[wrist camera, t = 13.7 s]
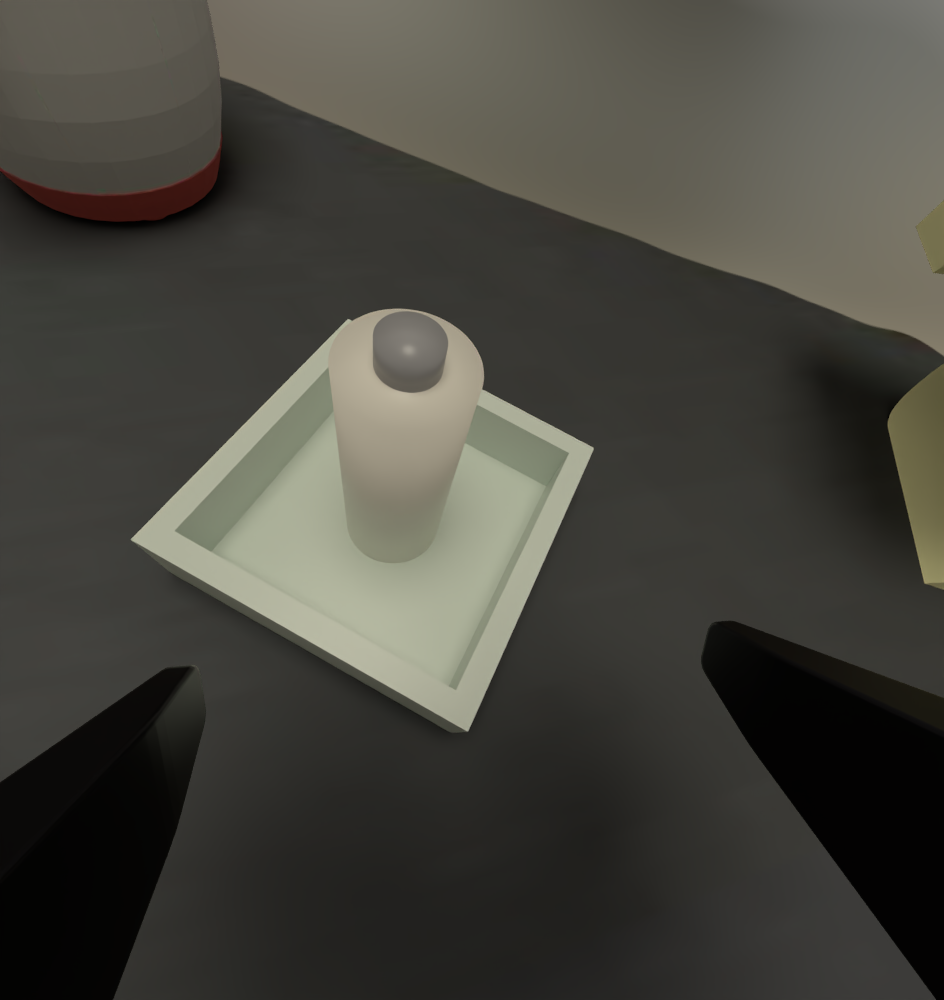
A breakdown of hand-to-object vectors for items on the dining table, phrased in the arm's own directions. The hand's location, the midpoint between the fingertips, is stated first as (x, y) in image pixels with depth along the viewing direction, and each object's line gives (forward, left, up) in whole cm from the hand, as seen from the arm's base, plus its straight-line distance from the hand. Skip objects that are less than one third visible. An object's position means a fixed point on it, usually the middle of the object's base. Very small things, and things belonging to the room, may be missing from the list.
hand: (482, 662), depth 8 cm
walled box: (+7, +5, -14) cm, 16 cm away
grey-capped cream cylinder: (+7, +5, -13) cm, 16 cm away
